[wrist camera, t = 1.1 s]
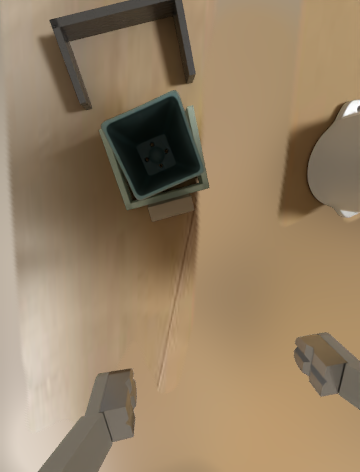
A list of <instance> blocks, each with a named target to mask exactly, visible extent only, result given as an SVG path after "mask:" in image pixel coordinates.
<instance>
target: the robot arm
mask: <svg viewBox="0 0 360 472" xmlns="http://www.w3.org/2000/svg"><path fill="white" fill-rule="evenodd" d="M357 109H358V110H357ZM308 183H309V187H310V189H311V192H312V193H313V195H314V196H315V197H316V199H317V200H319V201H320V202H321V203H323V204H325V205H328V206H330V207H332V208H334V210H335V211H336V212H337V213H338V215H339V216H341V217H347V218H348V217H351V216H353V215H356V214H358V213H360V100H352V101H348V102H346V103H345V104H344V105H343V106H342V108H341V109H340V111H339V113H338V115H337V117H336V119H335V121H334V123H333V124H332V125H331V126H330V127H329V128H328V129H327V130H326V132H325V133H324V134H323V135H322V136H321V137H320V139H319V140H318V142H317V143H316V145H315V147H314V149H313V151H312V153H311V156H310V159H309V164H308ZM295 344H296V345H297V348H296V349H295V350H294V358H295V361H296V363H297V365H298V367H299V368H300V370H301V371H302V372H303V373H304V374H306V375H308V376H309V382H310V383H311V384H312V386H313V387H314V388H315V390H316V391H317V392H318V393H319V395H320V396H326V395H332V394H338V393H339V395H340V396H341V397H343V398H344V399H345V400H347V401H348V402H350V403H351V404H353V405H354V406H355V407H357V408H358V409H359V410H360V361H359V360H358V359H357V358H356V357H355V356H354V355H352V354H351V353H350V352H349V351H348V350H347V349H346V348H345V347H343V346H342V345H341V344H340V343H339V342H338V341H337V340H336V339H335V338H334V337H332V336H331V335H330V334H329V333H326V332H325V333H319V334H313V335H308V336H303V337H298V338H297V339H296V341H295ZM136 394H137V392H136V383H135V380H134V379H133V370H132V369H124V370H118V371H111V372H105V373H99V374H98V375H97V377H96V379H95V383H94V386H93V389H92V393H91V396H90V400H89V403H88V407H87V410H86V413H85V416H82V417H81V418H80V419H79V420H78V421H77V423H76V424H75V425H74V426H73V428H72V429H71V430H70V432H69V433H68V434H67V435H66V437H65V438H64V439H63V440H62V442H61V443H60V444H59V446H58V447H57V448H56V449H55V451H54V452H53V453H52V454H51V456H50V457H49V458H48V460H47V461H46V462H45V463H44V465H43V466H42V467H41V469H40V470H39V471H38V472H98V471H99V468H100V467H101V465H102V463H103V461H104V459H105V457H106V455H107V453H108V451H109V449H110V448H111V446H112V442H115V441H119V440H123V439H127V438H131V437H133V436H134V424H135V415H134V411H133V410H134V408H135V406H136V399H137V395H136Z"/></svg>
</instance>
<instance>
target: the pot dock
mask: <svg viewBox="0 0 360 472" xmlns="http://www.w3.org/2000/svg"><path fill="white" fill-rule="evenodd" d="M169 16H173V18H174V23H175V28H176V33H177V38H178V43H179V48H180V53H181V58H182V62H183V67H184V72H185V77H186V82H187V84H189V83H192V82H193V79H194V77H195V74H196V73H195V68H194V63H193V57H192V52H191V46H190V41H189V36H188V30H187V25H186V20H185V14H184V9H183V3H182V0H129V1H124V2H120V3H116V4H112V5H108V6H104V7H100V8H96V9H92V10H88V11H84V12H80V13H76V14H72V15H67V16H63V17H59V18H55V19H51V20H50V23H51V26H52V28H53V31H54V34H55V37H56V39H57V42H58V45H59V48H60V50H61V53H62V56H63V59H64V61H65V64H66V67H67V70H68V72H69V75H70V78H71V81H72V83H73V86H74V89H75V92H76V94H77V97H78V100H79V103H80V104H81V105H82V106H83V107H84V108H85V109H86V110H88V109H92V106H91V103H90V100H89V97H88V94H87V91H86V89H85V86H84V83H83V80H82V77H81V74H80V71H79V68H78V66H77V63H76V60H75V57H74V54H73V51H72V48H71V45H70V43H69V41H72V40H76V39H80V38H84V37H88V36H92V35H97V34H101V33H105V32H109V31H113V30H117V29H121V28H125V27H129V26H133V25H137V24H141V23H145V22H149V21H153V20H157V19H161V18H165V17H169Z"/></svg>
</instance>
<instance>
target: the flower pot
mask: <svg viewBox="0 0 360 472" xmlns="http://www.w3.org/2000/svg"><path fill="white" fill-rule="evenodd" d="M101 129H102V131H103V133H104V135H105V137H106V139H107V141H108V143H109V145H110V147H111V149H112V151H113V153H114V155H115V157H116V159H117V161H118V163H119V165H120V167H121V169H122V171H123V173H124V175H125V177H126V179H127V181H128V183H129V185H130V187H131V190H132V192H133V194H134V196H135V198H136V199H137V200H140V201H141V200H144V199H146V198H148V197H150V196H153V195H155V194H157V193H159V192H162V191H164V190H166V189H168V188H171V187H173V186H175V185H178V184H180V183H182V182H185V181H187V180H189V179H192V178H194V177H196V176H199V175H201V174H203V173H204V165H203V162H202V159H201V157H200V154H199V151H198V148H197V145H196V143H195V140H194V137H193V134H192V131H191V128H190V125H189V122H188V119H187V117H186V114H185V111H184V108H183V105H182V102H181V98H180V96H179V94H178V92H177V91H176V90H173V91H170V92H168V93H166V94H164V95H161V96H160V97H157V98H155V99H153V100H151V101H149V102H147V103H145V104H143V105H140V106H138V107H136V108H134V109H132V110H129V111H127V112H125V113H123V114H120V115H118V116H116V117H113V118H111V119H108V120H106V121H104V122H103V123H102V124H101ZM151 143H154V146H151V145H150V144H151ZM165 149H167V150H168V153H165ZM146 158H148V159H149V160H148V161H146V160H145V159H146ZM160 164H162V165H163V166H162V167H160V166H159V165H160Z"/></svg>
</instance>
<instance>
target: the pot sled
mask: <svg viewBox="0 0 360 472" xmlns="http://www.w3.org/2000/svg"><path fill="white" fill-rule="evenodd" d="M185 114H186V117H187V119H188V122H189V125H190V128H191V131H192V134H193V137H194V140H195V143H196V145H197V148H198V151H199V154H200V157H201V159H202V162H203V165H204V173H203V174H201V175H199V176H198V181H199V183H197V184H193V185H189V186H186V187H182V188H178V189H175V190H171V191H167V192H164V193H160V194H156V195H153V196H150V197H148V198H146V199H144V200H141V201H140V200H134V201H133V200H132V197H131V194H130V191H129V188H128V185H127V182H126V179H125V176H124V173H123V171H122V169H121V167H120V165H119V163H118V161H117V159H116V157H115V155H114V153H113V151H112V149H111V147H110V145H109V143H108V141H107V139H106V137H105V135H104V133H103V131H102V129H100V130H99V132H100V135H101V138H102V141H103V144H104V147H105V149H106V152H107V155H108V158H109V161H110V164H111V167H112V169H113V172H114V175H115V178H116V181H117V184H118V187H119V189H120V192H121V195H122V198H123V201H124V204H125V207H126V209H127V210H130V209H134V208H137V207H141V206H145V205H148V204H149V205H148V211H149V214H150V217H151V220H152V222H154V221H158V220H161V219H165V218H169V217H172V216H176V215H180V214H183V213H187V212H190V211H194V205H193V201H192V197H191V195H189V193H192V192H196V191H200V190H203V189H207V188H209V183H208V179H207V173H206V168H205V163H204V158H203V153H202V148H201V143H200V138H199V133H198V128H197V123H196V118H195V113H194V108H193V105H192V106H188V107H187V108H186V111H185Z"/></svg>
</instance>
